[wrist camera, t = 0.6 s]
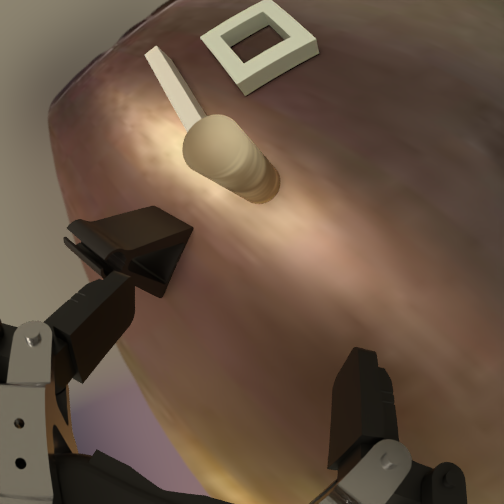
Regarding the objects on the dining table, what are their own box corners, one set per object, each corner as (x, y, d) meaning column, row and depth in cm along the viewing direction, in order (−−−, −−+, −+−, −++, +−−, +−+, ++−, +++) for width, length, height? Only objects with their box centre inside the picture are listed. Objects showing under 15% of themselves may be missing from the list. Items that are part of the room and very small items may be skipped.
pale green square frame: (273, 11, 31) (268, -3, 29) (319, 53, 30) (316, 39, 27) (208, 48, 34) (199, 37, 31) (245, 96, 32) (236, 84, 29)
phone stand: (155, 205, 35) (82, 186, 24) (194, 227, 34) (123, 213, 22) (127, 272, 36) (52, 275, 25) (162, 298, 35) (87, 311, 23)
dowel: (266, 154, 31) (223, 103, 20) (288, 188, 31) (253, 148, 19) (232, 177, 33) (173, 139, 21) (251, 211, 32) (198, 186, 20)
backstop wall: (171, 59, 36) (156, 45, 32) (220, 138, 33) (205, 125, 29) (160, 68, 36) (144, 54, 32) (206, 148, 34) (189, 136, 30)
